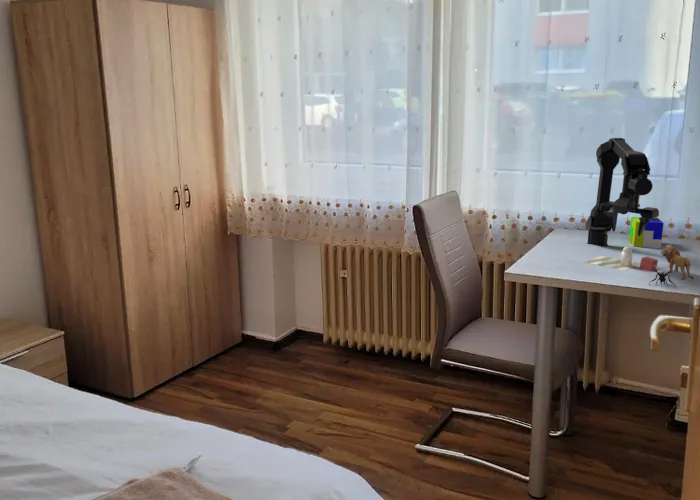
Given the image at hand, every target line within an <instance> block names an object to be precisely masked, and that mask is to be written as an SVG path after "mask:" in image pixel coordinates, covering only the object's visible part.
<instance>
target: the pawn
mask: <svg viewBox="0 0 700 500" xmlns="http://www.w3.org/2000/svg"><path fill="white" fill-rule="evenodd" d="M633 254H634V253H633V249H632V248H631V247H630V246H624V247H623V249H622V251H621V253H620V259H621V263H620V265H621V266H624V267H631V264H632V262H633ZM631 268H632V267H631Z"/></svg>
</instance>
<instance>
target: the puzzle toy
mask: <svg viewBox="0 0 700 500" xmlns="http://www.w3.org/2000/svg"><path fill="white" fill-rule="evenodd" d="M640 217H641V216H631V217H630V226H629V234H628V236H629V237H628V242H629V243H630V244H631V245H632V246H633V247H636V248H654V249H655V248H656V249H657V248H658V249H660V248H662V241H663V233H664V230H663V229H664V222H663V221H662V220H661V219H660V218H659V217H655V218H654V219H651V220H650V221H649V222H648V224H647V225H646V227H645V229H644V230H643V232H642V234H641V235H640V236H638V230H639V224H640V220H639V218H640Z"/></svg>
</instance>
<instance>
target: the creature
mask: <svg viewBox="0 0 700 500" xmlns="http://www.w3.org/2000/svg"><path fill="white" fill-rule="evenodd" d="M653 269H654V268H653ZM653 271H655V272H656V274H655V278H654V279H651V280H650V281H649V282H648V285H649V286H651V285H650V283H651V282H654V281H656V283H655V285H658V281H659V283H660V288H663V287H662V286H665V284H667V285H666V286H669V284H668V281H669V283H671V284H673V285H674V288H676V286H677V285H676V284H675V283H674V282H673V281H671V279H670V275H668V274H671V273H670V272H671V271H670V270H669V271H670V272H668V271H667V273H664V272H661V273H660V272H658V271H657V270H656V269H654V270H653ZM672 271H673V272H674V269H673V270H672ZM658 276H659V277H658ZM666 276H667V277H668V278H667V279H666ZM657 278H658V279H657ZM667 280H668V281H667ZM662 283H663V285H662Z"/></svg>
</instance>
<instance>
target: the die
mask: <svg viewBox="0 0 700 500" xmlns="http://www.w3.org/2000/svg"><path fill="white" fill-rule="evenodd" d="M658 262H659V259H656V258H653V257H649V256H645V257H641V260H640V262H639V263H640V264H639V270H644V271H648V272H653V271H655V270H656V269H657V266H658ZM653 268H654V269H655V270H654V269H653Z"/></svg>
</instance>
